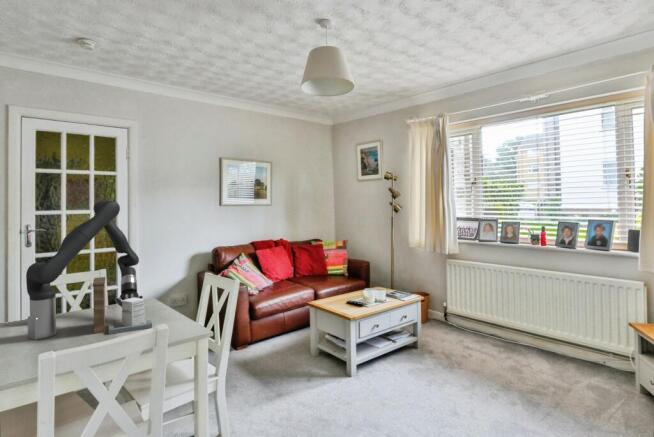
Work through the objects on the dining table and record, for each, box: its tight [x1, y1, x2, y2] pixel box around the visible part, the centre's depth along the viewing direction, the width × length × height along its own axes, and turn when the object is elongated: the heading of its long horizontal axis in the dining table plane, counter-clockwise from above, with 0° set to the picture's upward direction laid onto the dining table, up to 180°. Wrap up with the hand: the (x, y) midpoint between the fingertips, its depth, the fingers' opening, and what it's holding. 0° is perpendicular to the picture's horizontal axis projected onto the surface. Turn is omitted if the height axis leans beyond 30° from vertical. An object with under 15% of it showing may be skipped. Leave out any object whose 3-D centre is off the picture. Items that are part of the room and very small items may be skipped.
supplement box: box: [121, 297, 145, 327], centre depth 178 cm, size 7×7×13 cm
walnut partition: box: [91, 276, 106, 335], centre depth 172 cm, size 17×5×23 cm, turn 30°
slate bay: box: [108, 319, 153, 335], centre depth 172 cm, size 7×18×2 cm, turn 121°
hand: (129, 314), depth 181 cm, fingers closed
